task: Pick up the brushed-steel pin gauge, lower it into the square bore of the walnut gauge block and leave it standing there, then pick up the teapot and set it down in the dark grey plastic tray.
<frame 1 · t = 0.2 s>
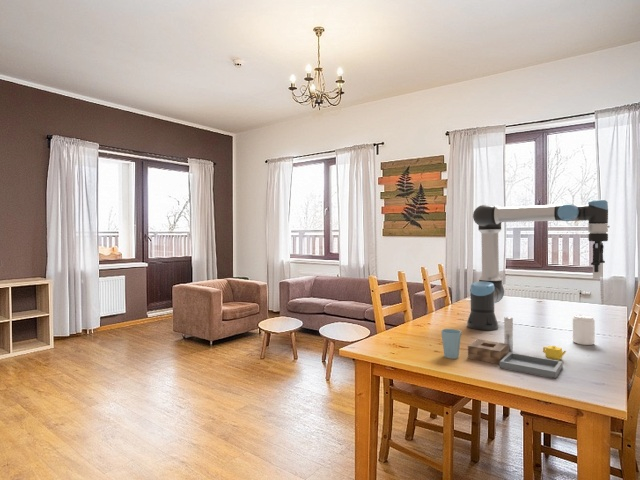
hand: (598, 277, 185), 28 cm above the table, fingers open, 13 cm apart
tray: (531, 367, 145), on the table
pin: (508, 350, 166), on the table
teapot: (555, 359, 155), on the table
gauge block: (488, 357, 158), on the table
cup: (451, 357, 159), on the table
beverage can: (583, 343, 175), on the table
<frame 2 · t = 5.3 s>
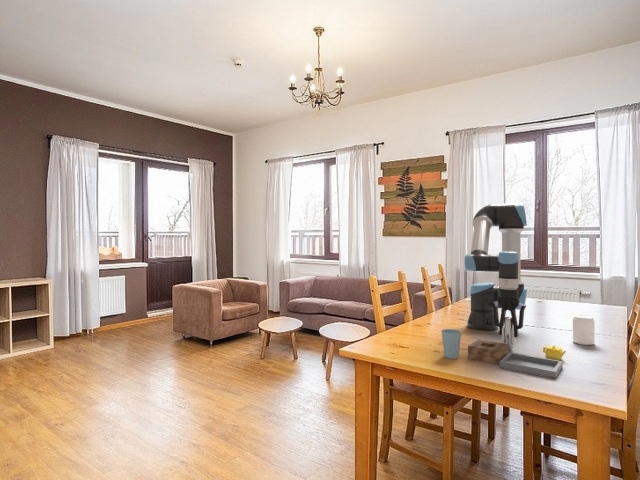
hand: (508, 343, 166), 3 cm above the table, fingers closed on pin, 3 cm apart
pin: (508, 350, 166), on the table, touching gripper
everything else where it was.
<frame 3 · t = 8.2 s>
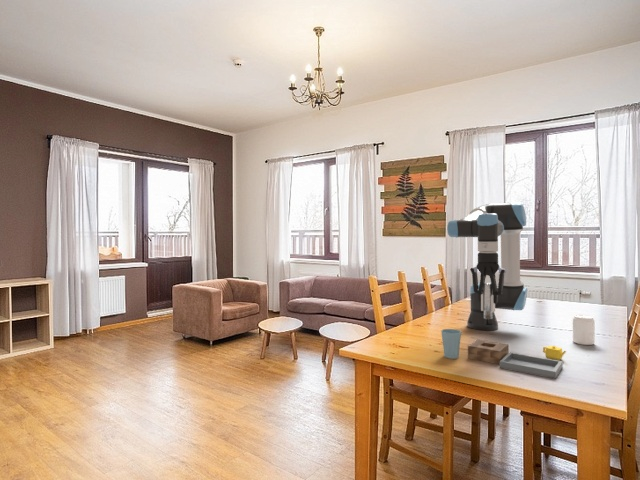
hand: (488, 310, 157), 19 cm above the table, fingers closed on pin, 3 cm apart
pin: (488, 318, 157), point 16 cm above the table, touching gripper
everything else where it was.
when the fingers open (6 cm above the table, at t = 11.1 s): pin stays where it is, resting on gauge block.
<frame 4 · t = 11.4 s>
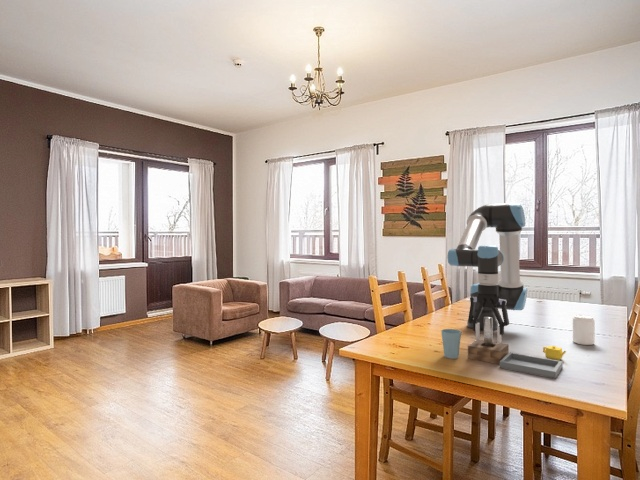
hand: (488, 340, 157), 7 cm above the table, fingers open, 8 cm apart
pin: (488, 352, 157), point 2 cm above the table, touching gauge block
everything else where it was.
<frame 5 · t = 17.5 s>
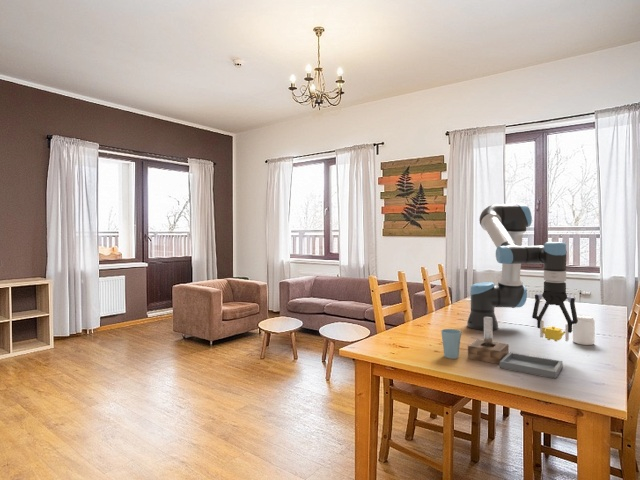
hand: (554, 338, 155), 8 cm above the table, fingers closed on teapot, 8 cm apart
teapot: (554, 340, 155), point 7 cm above the table, touching gripper
everything else where it was.
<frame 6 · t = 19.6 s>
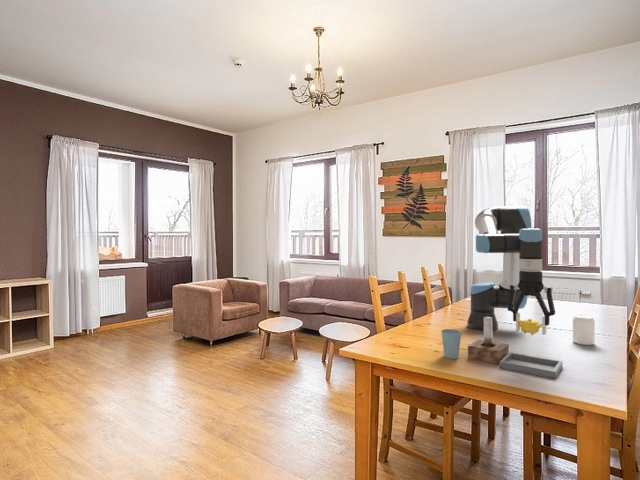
hand: (530, 332, 145), 13 cm above the table, fingers closed on teapot, 8 cm apart
teapot: (531, 333, 145), point 13 cm above the table, touching gripper
everything else where it was.
when the fingers open (2 cm above the table, at t = 21.8 s): teapot drops 1 cm, resting on tray.
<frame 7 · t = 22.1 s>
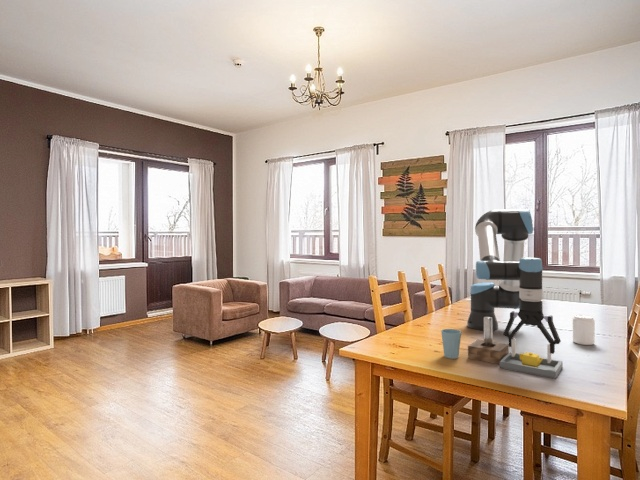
hand: (531, 358, 145), 3 cm above the table, fingers open, 11 cm apart
teapot: (532, 367, 145), resting on tray
everything else where it was.
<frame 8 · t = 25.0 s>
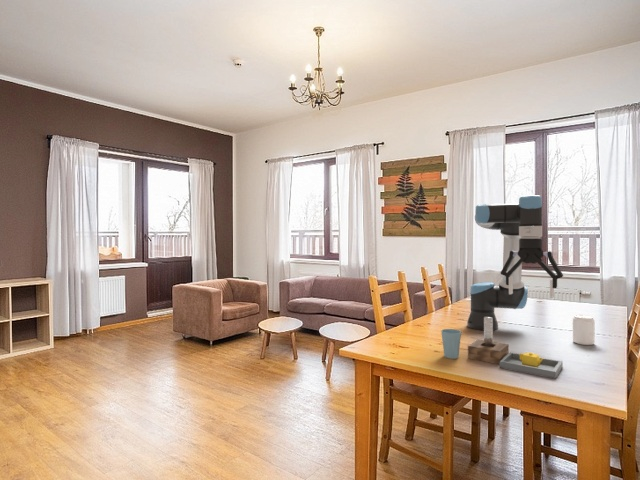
hand: (530, 295, 144), 27 cm above the table, fingers open, 13 cm apart
nothing on the table moved.
at the end: teapot inside the target area on the tray (0.3 cm from its centre), point 0.3 cm above the tray's base; pin 0.0 cm from the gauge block (horizontally); pin point 2.0 cm above the table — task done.
